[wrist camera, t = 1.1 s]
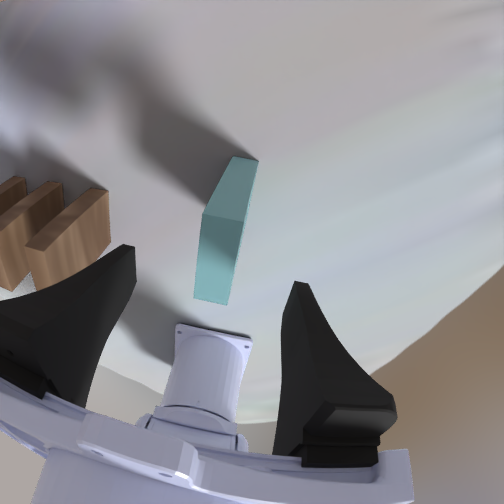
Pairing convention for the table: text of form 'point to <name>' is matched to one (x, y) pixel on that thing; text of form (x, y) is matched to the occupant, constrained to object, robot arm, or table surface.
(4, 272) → the domino
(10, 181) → the domino
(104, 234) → the domino
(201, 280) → the domino
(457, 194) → the table surface
